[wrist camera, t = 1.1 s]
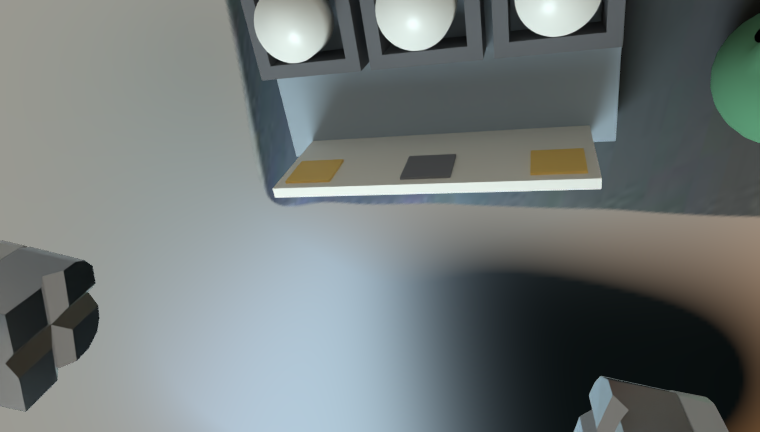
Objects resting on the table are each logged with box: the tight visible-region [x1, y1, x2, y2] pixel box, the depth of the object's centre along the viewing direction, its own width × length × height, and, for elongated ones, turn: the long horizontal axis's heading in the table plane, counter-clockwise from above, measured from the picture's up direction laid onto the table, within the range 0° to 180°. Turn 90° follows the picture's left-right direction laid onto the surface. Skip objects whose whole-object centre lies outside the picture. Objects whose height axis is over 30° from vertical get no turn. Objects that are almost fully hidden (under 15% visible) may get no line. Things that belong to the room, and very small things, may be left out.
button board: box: [241, 0, 626, 156], centre depth 32 cm, size 21×14×6 cm, turn 99°
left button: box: [254, 0, 334, 63], centre depth 30 cm, size 4×4×2 cm
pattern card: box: [273, 125, 602, 198], centre depth 32 cm, size 18×1×7 cm, turn 99°
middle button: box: [375, 0, 457, 51], centre depth 28 cm, size 4×4×2 cm
